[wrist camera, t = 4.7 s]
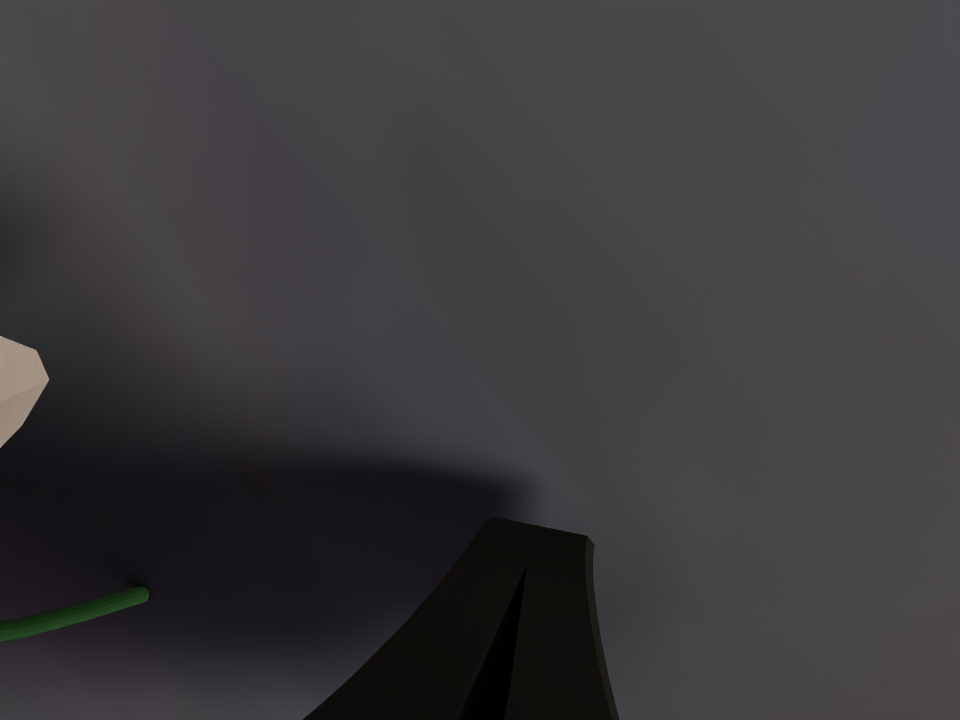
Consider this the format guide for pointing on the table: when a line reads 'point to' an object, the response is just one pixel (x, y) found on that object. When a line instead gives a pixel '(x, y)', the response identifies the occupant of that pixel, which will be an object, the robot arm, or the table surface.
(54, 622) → the lily
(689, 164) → the table surface
